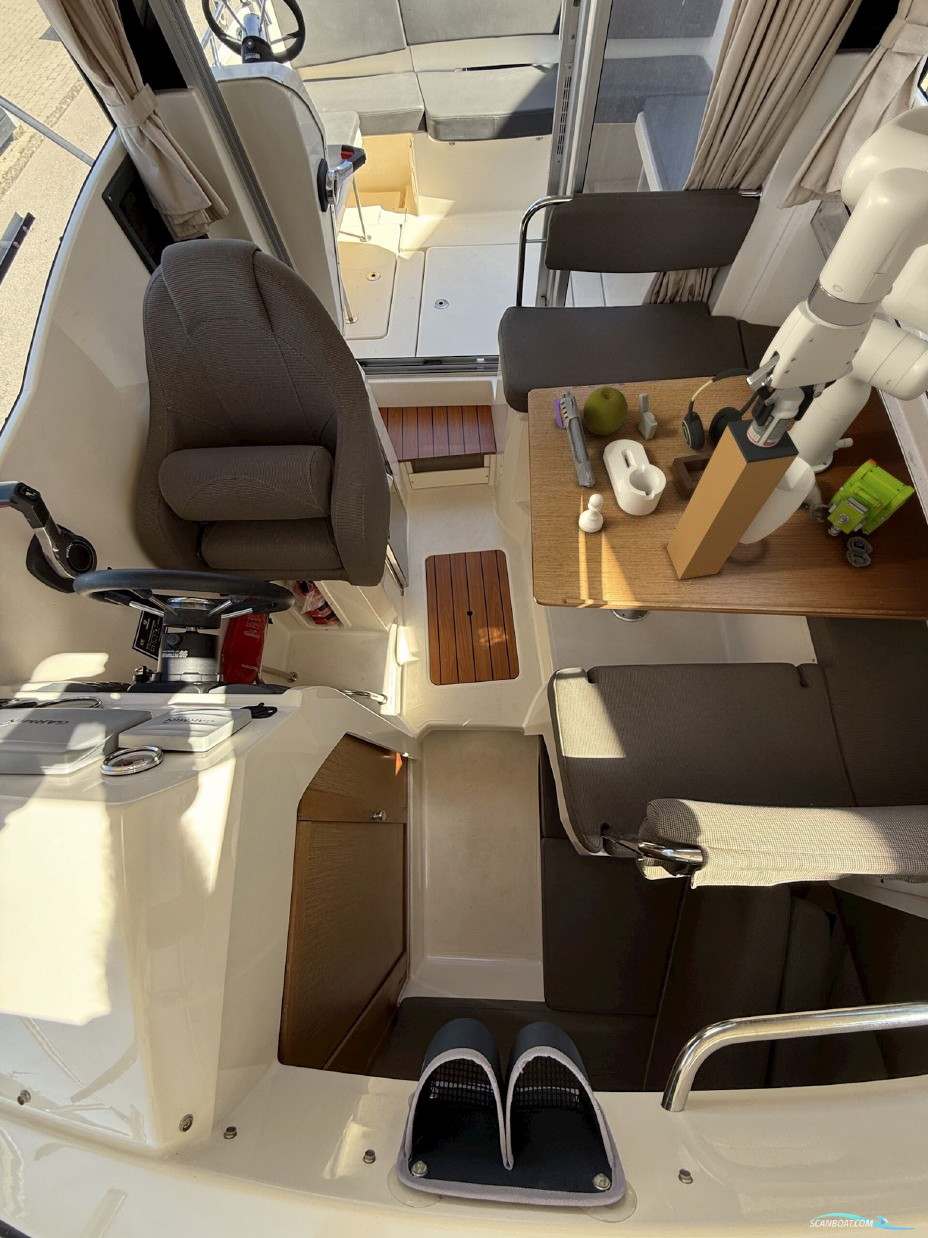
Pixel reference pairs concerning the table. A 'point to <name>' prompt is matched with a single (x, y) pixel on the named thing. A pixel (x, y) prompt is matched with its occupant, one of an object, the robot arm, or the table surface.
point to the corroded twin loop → (859, 551)
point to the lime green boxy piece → (866, 500)
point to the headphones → (693, 422)
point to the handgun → (574, 436)
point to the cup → (782, 501)
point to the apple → (605, 410)
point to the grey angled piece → (646, 417)
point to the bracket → (633, 477)
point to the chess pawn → (592, 515)
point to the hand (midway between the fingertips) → (775, 415)
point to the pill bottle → (777, 418)
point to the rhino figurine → (815, 503)
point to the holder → (681, 474)
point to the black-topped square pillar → (727, 499)
